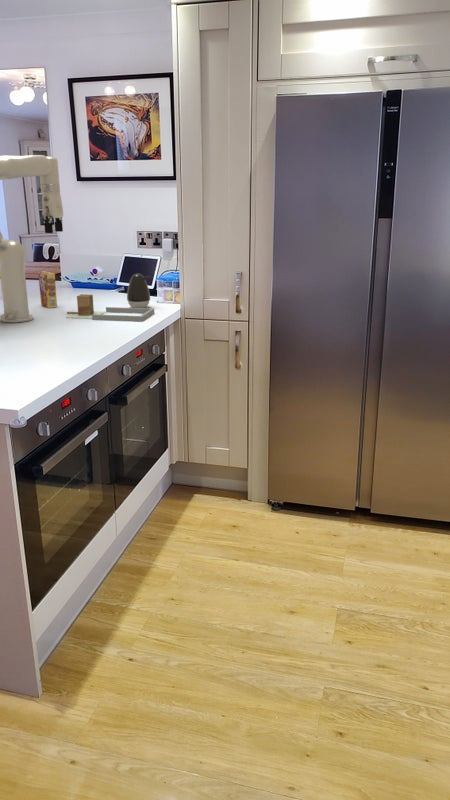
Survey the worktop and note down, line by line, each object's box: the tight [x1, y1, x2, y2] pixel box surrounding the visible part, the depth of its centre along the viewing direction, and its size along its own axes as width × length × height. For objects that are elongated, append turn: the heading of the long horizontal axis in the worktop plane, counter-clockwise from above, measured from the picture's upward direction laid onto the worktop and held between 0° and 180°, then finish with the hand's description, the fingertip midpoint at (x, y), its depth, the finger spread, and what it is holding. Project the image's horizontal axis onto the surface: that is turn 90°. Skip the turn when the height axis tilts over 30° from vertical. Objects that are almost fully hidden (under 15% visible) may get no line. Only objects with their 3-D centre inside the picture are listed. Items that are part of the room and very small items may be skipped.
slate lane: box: [91, 306, 155, 322], centre depth 260 cm, size 17×21×2 cm
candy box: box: [38, 270, 58, 309], centre depth 280 cm, size 9×4×15 cm, turn 39°
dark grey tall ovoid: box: [126, 272, 151, 308], centre depth 277 cm, size 10×10×15 cm
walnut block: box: [66, 293, 95, 316], centre depth 262 cm, size 5×11×8 cm, turn 80°
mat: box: [65, 310, 107, 320], centre depth 263 cm, size 14×12×1 cm
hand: (54, 232), depth 260 cm, fingers open, 9 cm apart
